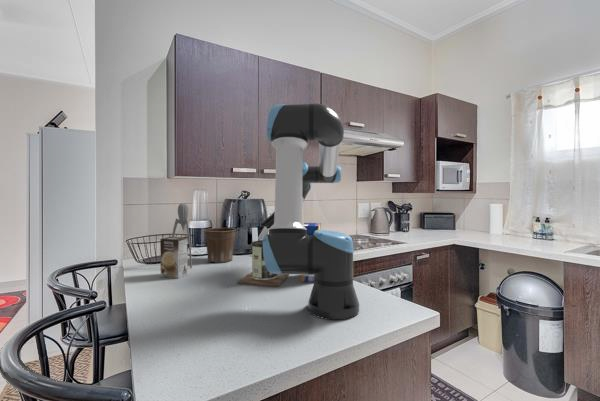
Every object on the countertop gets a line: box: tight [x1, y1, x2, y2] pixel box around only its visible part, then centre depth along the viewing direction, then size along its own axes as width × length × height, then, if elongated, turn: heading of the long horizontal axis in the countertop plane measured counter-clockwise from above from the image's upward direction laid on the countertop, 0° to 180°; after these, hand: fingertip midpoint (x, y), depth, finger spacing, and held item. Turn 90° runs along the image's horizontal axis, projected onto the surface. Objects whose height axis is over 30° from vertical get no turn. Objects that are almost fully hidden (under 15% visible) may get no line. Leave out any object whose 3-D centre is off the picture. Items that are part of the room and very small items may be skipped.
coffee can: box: [251, 240, 278, 280], centre depth 120 cm, size 10×10×14 cm
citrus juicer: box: [171, 202, 193, 269], centre depth 141 cm, size 11×10×30 cm
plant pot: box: [203, 227, 237, 264], centre depth 153 cm, size 16×16×16 cm
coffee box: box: [159, 236, 188, 279], centre depth 125 cm, size 9×6×16 cm
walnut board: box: [237, 271, 290, 288], centre depth 120 cm, size 16×16×1 cm
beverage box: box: [300, 222, 322, 283], centre depth 121 cm, size 7×11×22 cm, turn 171°
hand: (272, 241), depth 124 cm, fingers open, 13 cm apart
